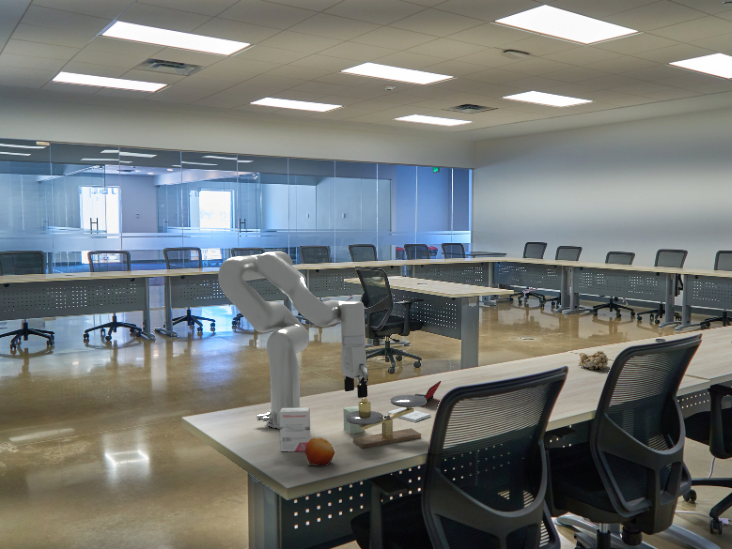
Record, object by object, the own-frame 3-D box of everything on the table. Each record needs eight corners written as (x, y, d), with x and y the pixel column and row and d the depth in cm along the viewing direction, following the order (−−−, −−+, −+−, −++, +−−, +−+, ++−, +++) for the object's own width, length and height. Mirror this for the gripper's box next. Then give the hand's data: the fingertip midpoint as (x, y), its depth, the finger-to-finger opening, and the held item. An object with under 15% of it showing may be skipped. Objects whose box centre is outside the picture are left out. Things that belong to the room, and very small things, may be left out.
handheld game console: (415, 396, 232) (415, 377, 231) (442, 399, 227) (442, 380, 226) (402, 405, 221) (402, 384, 220) (430, 408, 216) (430, 388, 215)
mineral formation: (607, 365, 279) (614, 371, 264) (577, 369, 281) (582, 375, 267) (604, 348, 279) (611, 352, 264) (574, 352, 282) (579, 357, 267)
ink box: (311, 445, 179) (310, 406, 178) (310, 451, 174) (309, 411, 173) (281, 446, 178) (281, 406, 178) (279, 452, 174) (279, 411, 173)
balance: (356, 453, 172) (355, 405, 171) (340, 441, 182) (339, 395, 181) (433, 438, 183) (433, 393, 182) (415, 428, 193) (414, 385, 192)
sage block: (350, 434, 189) (350, 411, 188) (343, 429, 193) (343, 407, 193) (364, 431, 191) (364, 409, 190) (358, 427, 195) (357, 405, 195)
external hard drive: (403, 411, 214) (430, 418, 205) (387, 416, 208) (415, 424, 199) (403, 406, 214) (430, 413, 205) (387, 411, 208) (415, 419, 199)
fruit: (298, 454, 168) (313, 429, 168) (323, 467, 169) (337, 442, 169) (297, 465, 160) (313, 439, 160) (323, 478, 161) (338, 453, 160)
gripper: (331, 338, 196) (334, 390, 197) (354, 345, 181) (356, 401, 182) (352, 335, 199) (355, 386, 200) (376, 342, 184) (379, 398, 185)
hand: (356, 394), depth 191 cm, fingers open, 9 cm apart
